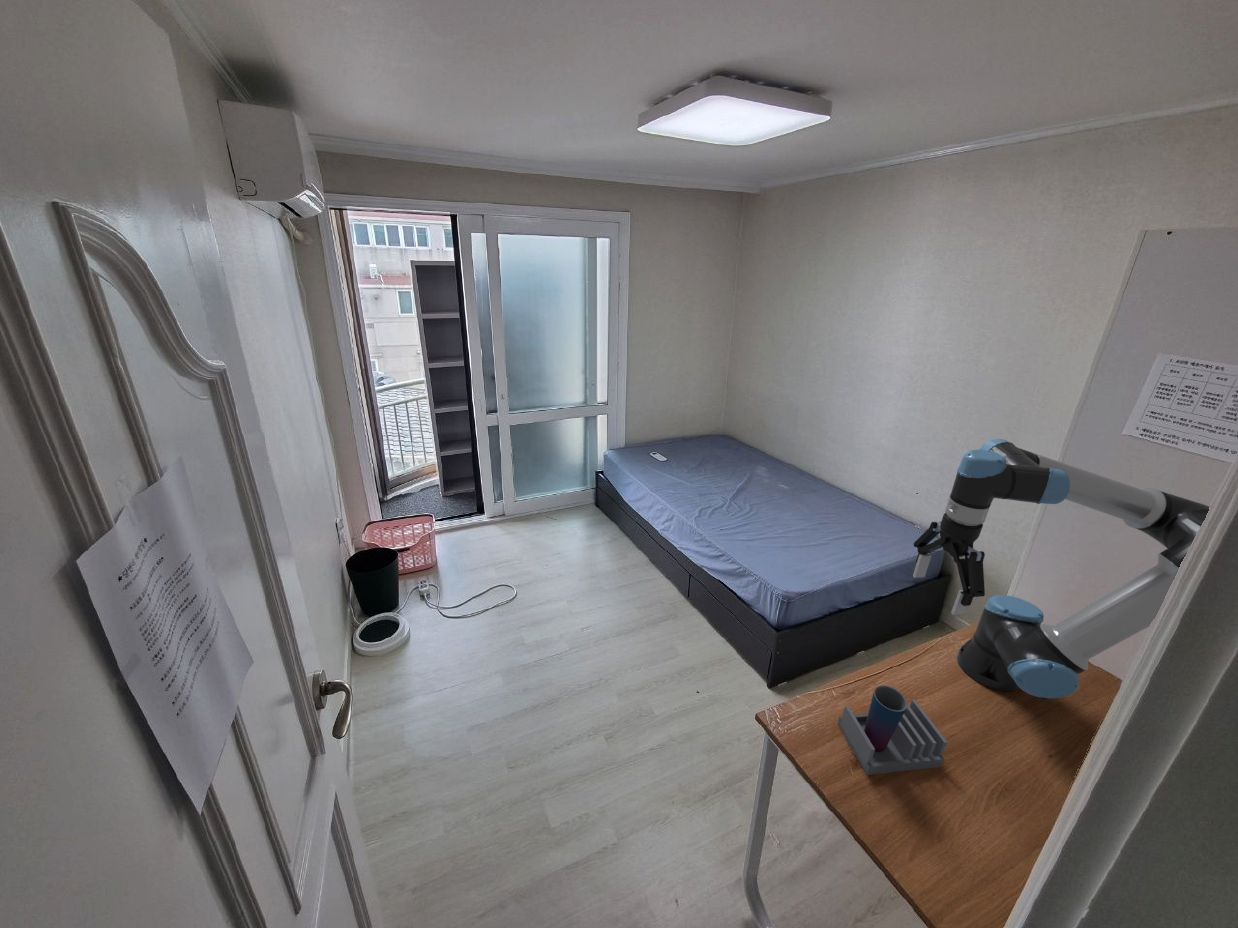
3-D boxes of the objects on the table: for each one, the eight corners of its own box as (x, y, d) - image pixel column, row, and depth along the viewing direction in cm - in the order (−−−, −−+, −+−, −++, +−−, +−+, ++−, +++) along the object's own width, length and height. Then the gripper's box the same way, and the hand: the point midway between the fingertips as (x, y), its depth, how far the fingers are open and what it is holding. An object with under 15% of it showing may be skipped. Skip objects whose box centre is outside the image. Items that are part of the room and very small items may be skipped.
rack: (905, 716, 125) (912, 696, 122) (941, 766, 113) (950, 745, 110) (837, 723, 123) (843, 702, 120) (866, 774, 111) (873, 753, 108)
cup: (893, 758, 113) (912, 714, 107) (861, 752, 115) (878, 708, 108) (885, 731, 119) (902, 688, 113) (855, 726, 121) (870, 682, 114)
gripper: (911, 492, 121) (891, 563, 130) (992, 550, 99) (960, 632, 108) (940, 491, 122) (917, 562, 131) (1026, 548, 100) (992, 630, 108)
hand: (937, 594), depth 119 cm, fingers open, 13 cm apart
